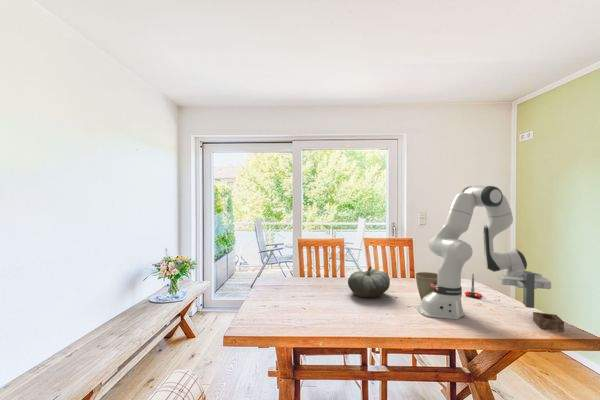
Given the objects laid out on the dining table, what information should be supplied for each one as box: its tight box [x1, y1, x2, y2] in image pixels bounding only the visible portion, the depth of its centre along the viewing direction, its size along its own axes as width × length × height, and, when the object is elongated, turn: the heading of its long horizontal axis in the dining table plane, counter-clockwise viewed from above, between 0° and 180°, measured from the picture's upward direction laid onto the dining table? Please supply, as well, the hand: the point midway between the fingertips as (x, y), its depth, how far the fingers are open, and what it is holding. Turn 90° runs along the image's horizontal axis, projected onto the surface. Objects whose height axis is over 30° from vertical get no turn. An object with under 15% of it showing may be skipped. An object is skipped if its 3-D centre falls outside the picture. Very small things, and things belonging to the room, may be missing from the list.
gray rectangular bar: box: [522, 270, 535, 309], centre depth 145 cm, size 3×5×16 cm, turn 158°
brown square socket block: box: [532, 311, 565, 332], centre depth 142 cm, size 9×9×4 cm
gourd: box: [347, 266, 391, 298], centre depth 186 cm, size 25×25×17 cm
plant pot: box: [415, 271, 437, 302], centre depth 172 cm, size 15×15×16 cm
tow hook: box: [464, 273, 483, 299], centre depth 186 cm, size 9×14×10 cm
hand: (529, 286), depth 144 cm, fingers closed on gray rectangular bar, 3 cm apart
